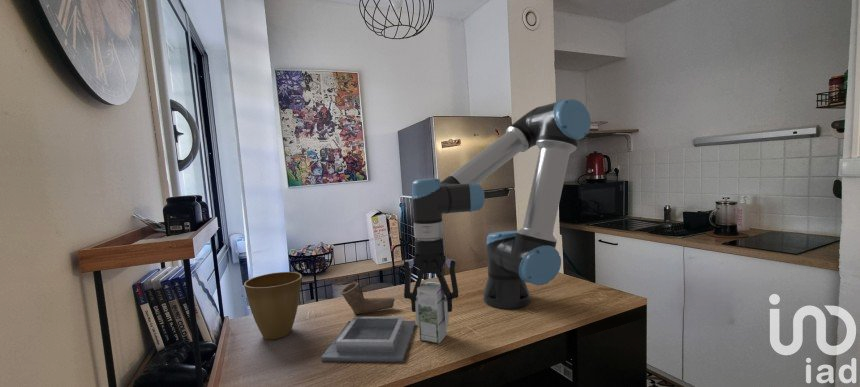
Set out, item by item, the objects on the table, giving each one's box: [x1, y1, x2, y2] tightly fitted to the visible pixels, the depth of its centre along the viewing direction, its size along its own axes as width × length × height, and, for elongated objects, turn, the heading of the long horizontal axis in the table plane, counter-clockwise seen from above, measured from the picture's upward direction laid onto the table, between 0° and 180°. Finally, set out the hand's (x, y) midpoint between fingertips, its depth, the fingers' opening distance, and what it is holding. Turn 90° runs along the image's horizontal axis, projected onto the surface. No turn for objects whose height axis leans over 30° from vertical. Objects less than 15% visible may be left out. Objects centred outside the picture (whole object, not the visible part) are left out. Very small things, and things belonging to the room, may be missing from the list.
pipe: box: [340, 281, 396, 315], centre depth 111 cm, size 6×17×10 cm, turn 101°
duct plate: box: [320, 316, 417, 363], centre depth 93 cm, size 20×20×4 cm
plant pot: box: [243, 271, 302, 340], centre depth 100 cm, size 15×15×16 cm
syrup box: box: [416, 281, 448, 344], centre depth 93 cm, size 6×6×14 cm
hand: (432, 323), depth 93 cm, fingers closed on syrup box, 7 cm apart
